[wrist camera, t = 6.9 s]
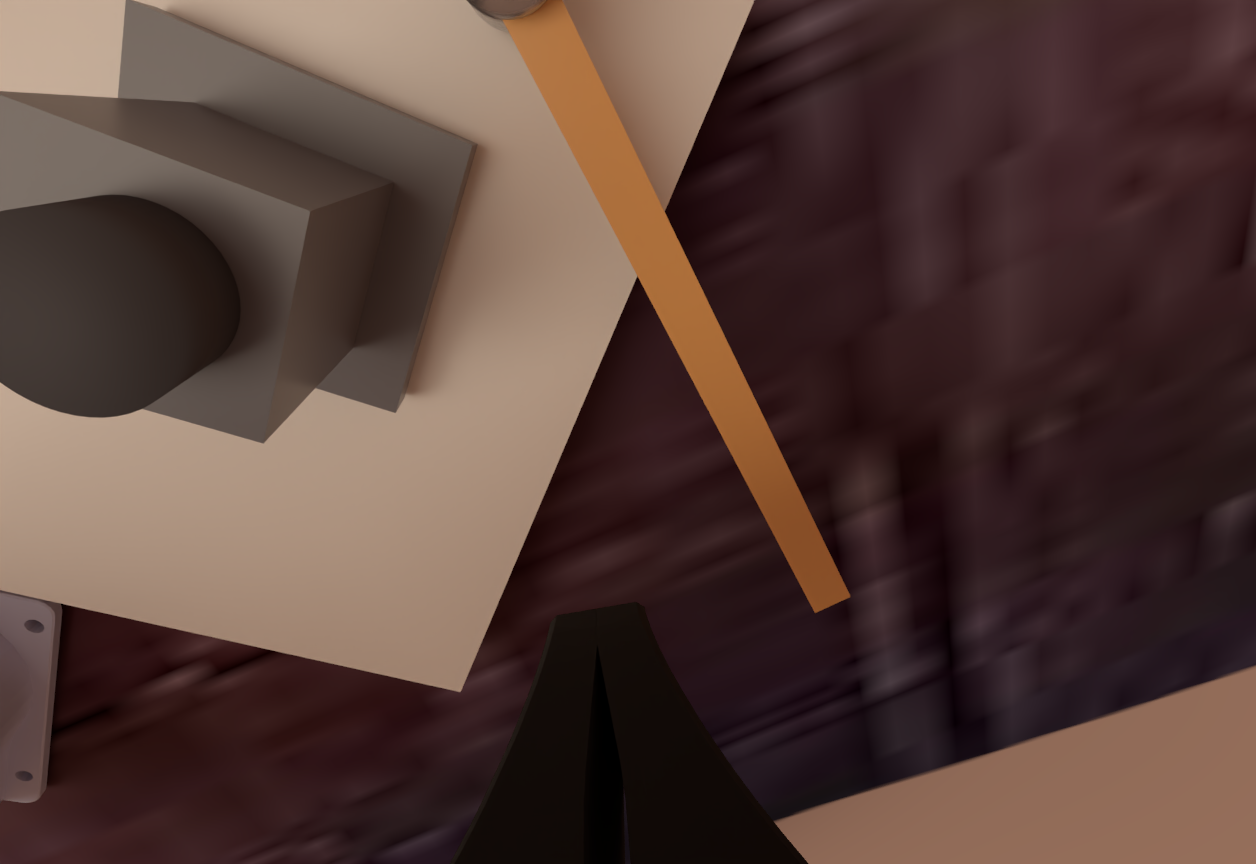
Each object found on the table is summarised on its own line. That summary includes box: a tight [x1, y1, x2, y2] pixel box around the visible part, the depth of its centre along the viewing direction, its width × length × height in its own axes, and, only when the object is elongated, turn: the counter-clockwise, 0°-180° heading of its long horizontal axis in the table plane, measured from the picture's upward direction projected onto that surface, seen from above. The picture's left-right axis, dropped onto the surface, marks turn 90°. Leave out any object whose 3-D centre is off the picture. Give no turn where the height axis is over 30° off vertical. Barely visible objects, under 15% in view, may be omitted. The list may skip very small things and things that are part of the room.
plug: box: [0, 0, 478, 444], centre depth 11 cm, size 6×6×10 cm
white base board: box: [0, 0, 754, 692], centre depth 15 cm, size 20×14×2 cm
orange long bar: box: [467, 0, 850, 613], centre depth 14 cm, size 16×2×2 cm, turn 28°
